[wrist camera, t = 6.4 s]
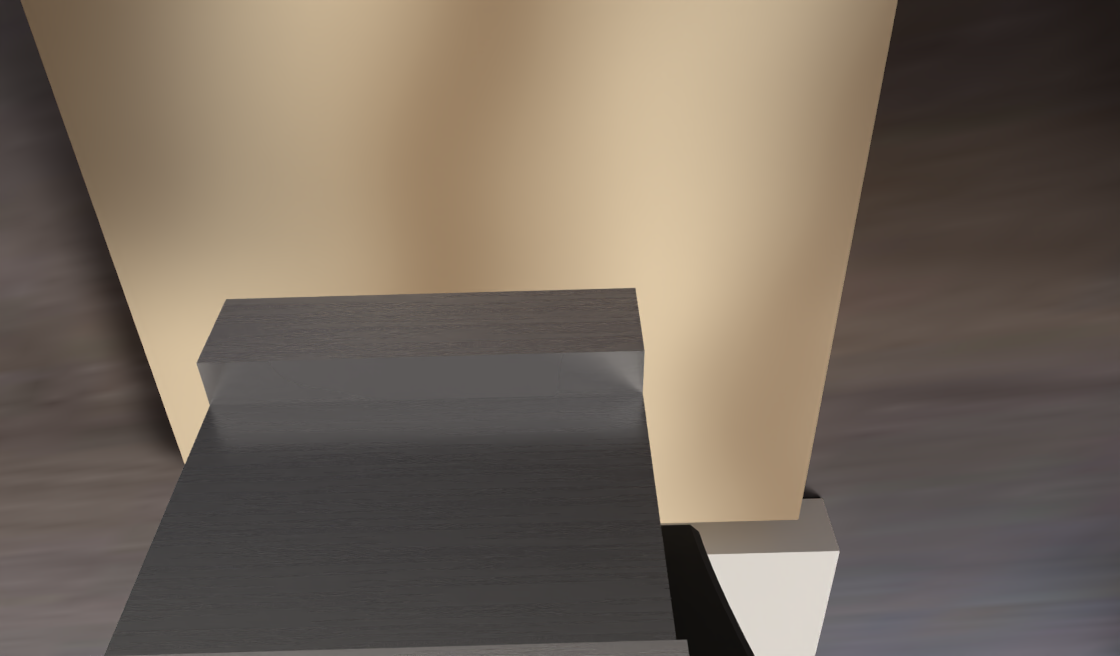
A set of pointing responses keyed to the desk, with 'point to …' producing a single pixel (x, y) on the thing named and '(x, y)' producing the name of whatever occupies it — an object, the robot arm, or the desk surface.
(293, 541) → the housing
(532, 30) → the stand
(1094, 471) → the desk surface
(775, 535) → the stand
